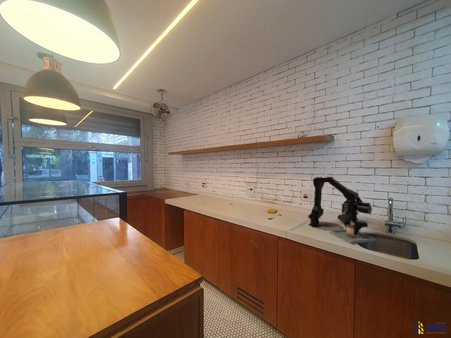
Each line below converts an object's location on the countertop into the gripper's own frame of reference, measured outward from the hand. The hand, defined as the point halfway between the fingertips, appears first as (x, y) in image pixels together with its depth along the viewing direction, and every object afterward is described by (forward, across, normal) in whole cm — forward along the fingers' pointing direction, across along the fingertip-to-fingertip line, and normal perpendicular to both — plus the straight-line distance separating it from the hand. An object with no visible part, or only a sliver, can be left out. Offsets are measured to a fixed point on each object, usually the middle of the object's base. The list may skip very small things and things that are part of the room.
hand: (351, 233), depth 125 cm
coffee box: (+3, -25, +22) cm, 33 cm away
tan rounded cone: (+1, 0, 0) cm, 1 cm away
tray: (+3, 0, 0) cm, 3 cm away
